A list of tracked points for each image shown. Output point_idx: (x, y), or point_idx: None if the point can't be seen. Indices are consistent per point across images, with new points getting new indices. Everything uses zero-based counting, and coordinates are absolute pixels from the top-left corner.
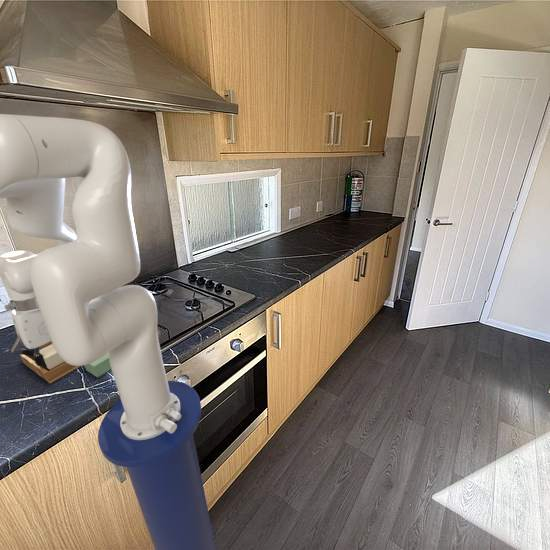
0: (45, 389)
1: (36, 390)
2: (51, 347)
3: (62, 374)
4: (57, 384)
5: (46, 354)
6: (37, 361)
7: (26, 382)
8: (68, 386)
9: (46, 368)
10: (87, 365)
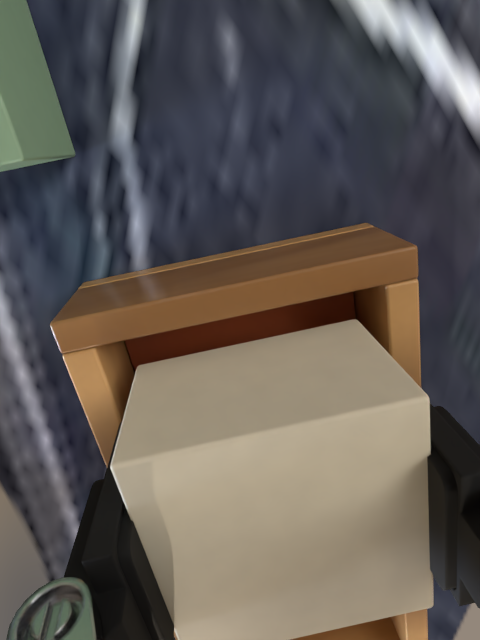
0: (418, 166)
1: (463, 215)
2: (283, 590)
3: (265, 248)
4: (331, 155)
5: (379, 484)
6: (470, 440)
7: (461, 377)
8: (274, 20)
9: None
10: (8, 52)
